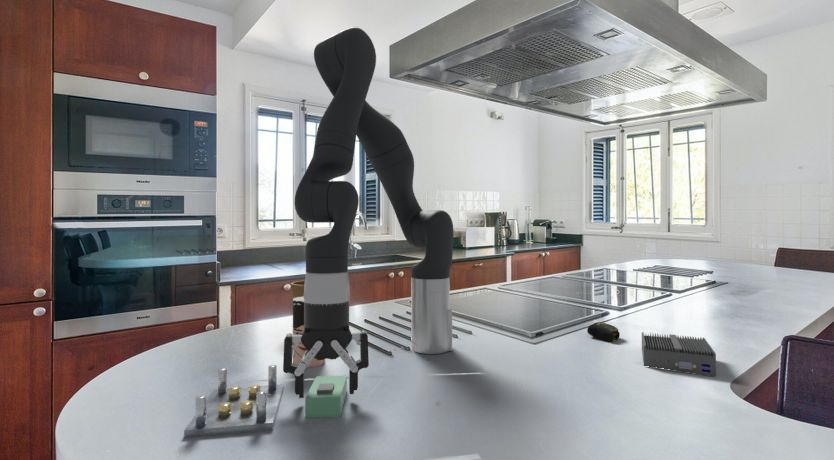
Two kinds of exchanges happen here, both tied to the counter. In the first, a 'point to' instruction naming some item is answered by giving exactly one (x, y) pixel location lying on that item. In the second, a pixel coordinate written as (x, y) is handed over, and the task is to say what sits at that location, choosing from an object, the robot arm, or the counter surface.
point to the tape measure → (603, 331)
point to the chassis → (236, 408)
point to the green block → (326, 396)
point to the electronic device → (679, 354)
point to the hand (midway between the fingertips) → (326, 394)
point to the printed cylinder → (300, 332)
